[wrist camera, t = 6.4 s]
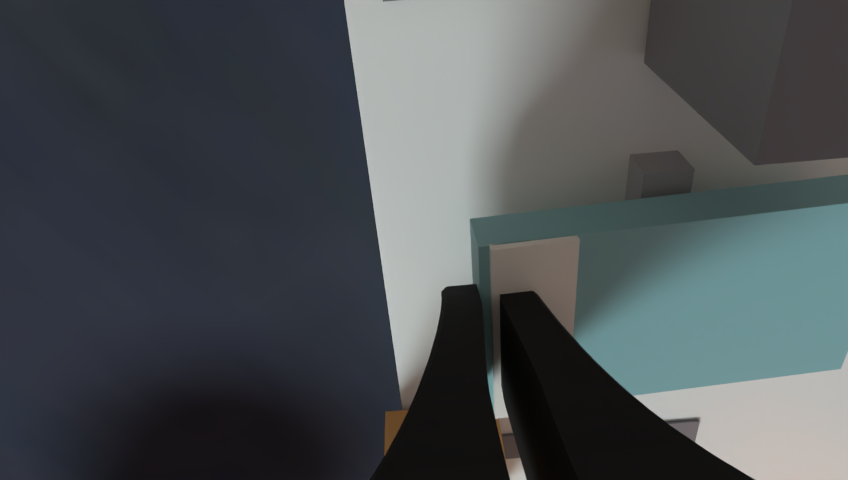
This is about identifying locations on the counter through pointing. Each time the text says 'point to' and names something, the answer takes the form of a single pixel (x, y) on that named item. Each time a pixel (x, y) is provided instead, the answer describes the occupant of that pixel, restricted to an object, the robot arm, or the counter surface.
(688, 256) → the teal flat block
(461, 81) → the panel
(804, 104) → the charcoal fader
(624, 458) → the robot arm
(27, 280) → the counter surface
